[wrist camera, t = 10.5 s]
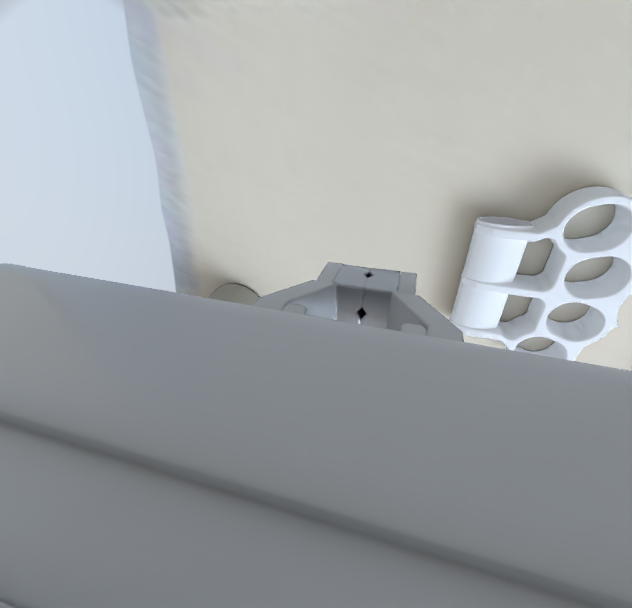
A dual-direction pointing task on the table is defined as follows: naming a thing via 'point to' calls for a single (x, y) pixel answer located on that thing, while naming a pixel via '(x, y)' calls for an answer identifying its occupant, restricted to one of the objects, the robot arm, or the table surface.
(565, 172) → the table surface
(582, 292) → the knuckle duster
